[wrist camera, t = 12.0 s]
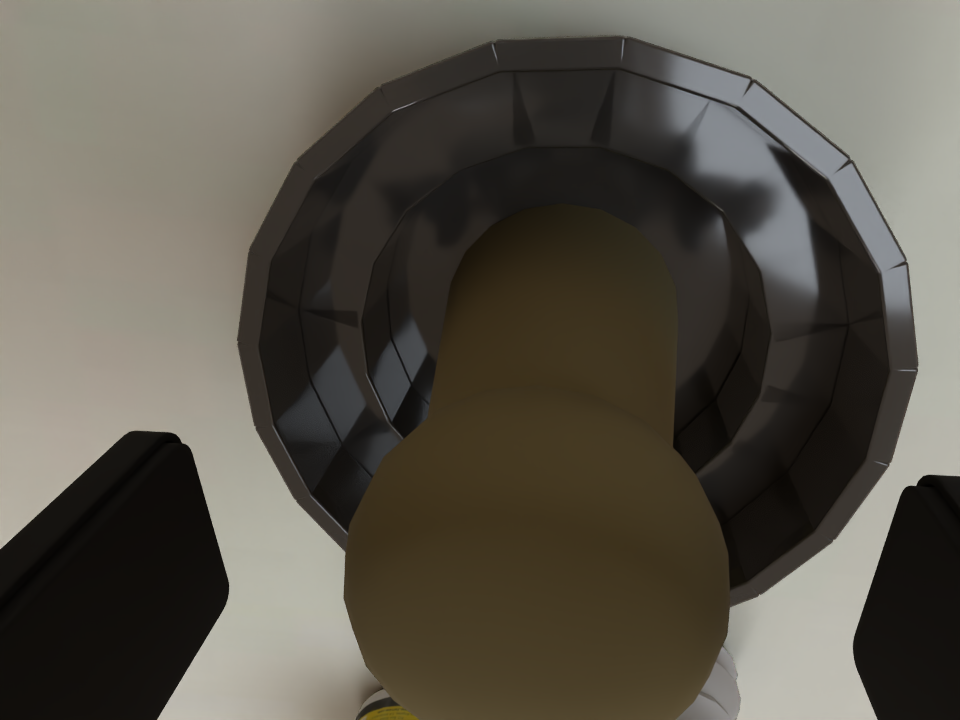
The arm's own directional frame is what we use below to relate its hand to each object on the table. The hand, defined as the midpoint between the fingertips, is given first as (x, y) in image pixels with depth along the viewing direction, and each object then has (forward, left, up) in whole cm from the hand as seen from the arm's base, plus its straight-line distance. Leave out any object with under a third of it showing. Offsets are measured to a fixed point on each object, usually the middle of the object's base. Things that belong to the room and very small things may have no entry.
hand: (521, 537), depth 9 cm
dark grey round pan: (+1, 0, -10) cm, 10 cm away
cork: (+1, 0, -10) cm, 10 cm away
